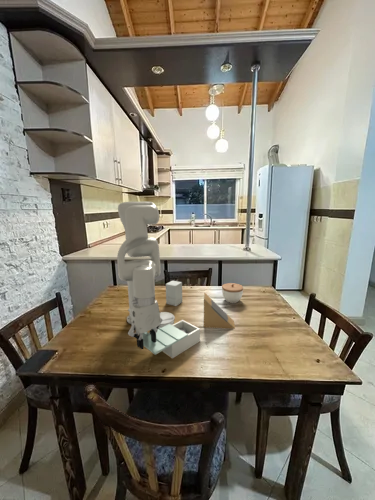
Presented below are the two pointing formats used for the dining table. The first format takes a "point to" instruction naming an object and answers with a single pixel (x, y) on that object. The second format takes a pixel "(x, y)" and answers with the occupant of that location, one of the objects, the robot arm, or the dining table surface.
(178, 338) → the lid
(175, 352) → the box
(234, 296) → the lidded bowl
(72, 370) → the dining table surface
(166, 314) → the ramekin
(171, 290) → the supplement box
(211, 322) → the sandwich container
